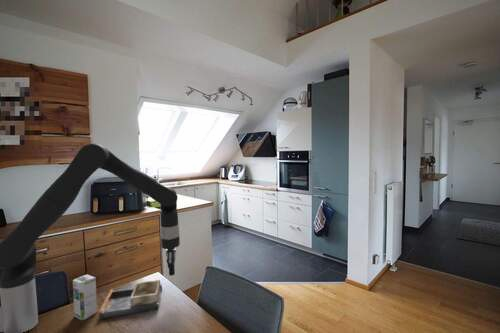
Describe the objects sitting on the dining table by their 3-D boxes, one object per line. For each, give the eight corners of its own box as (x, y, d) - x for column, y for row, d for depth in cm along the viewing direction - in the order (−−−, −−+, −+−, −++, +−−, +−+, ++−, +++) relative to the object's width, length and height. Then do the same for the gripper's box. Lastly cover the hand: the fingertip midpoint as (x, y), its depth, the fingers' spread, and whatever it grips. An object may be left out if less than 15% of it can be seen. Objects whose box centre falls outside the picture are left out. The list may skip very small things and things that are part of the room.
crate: (130, 309, 98) (130, 298, 98) (136, 293, 109) (136, 282, 109) (157, 305, 100) (157, 294, 100) (160, 289, 112) (160, 279, 111)
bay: (99, 319, 94) (98, 311, 93) (111, 296, 108) (110, 289, 108) (158, 310, 99) (157, 302, 98) (162, 288, 114) (161, 282, 113)
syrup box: (73, 316, 95) (71, 280, 94) (89, 307, 101) (87, 273, 100) (82, 321, 93) (79, 283, 92) (98, 312, 98) (96, 276, 97)
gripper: (162, 231, 111) (164, 268, 112) (159, 241, 98) (161, 284, 99) (179, 229, 113) (181, 266, 114) (178, 239, 100) (180, 281, 101)
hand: (172, 274), depth 107 cm, fingers closed
